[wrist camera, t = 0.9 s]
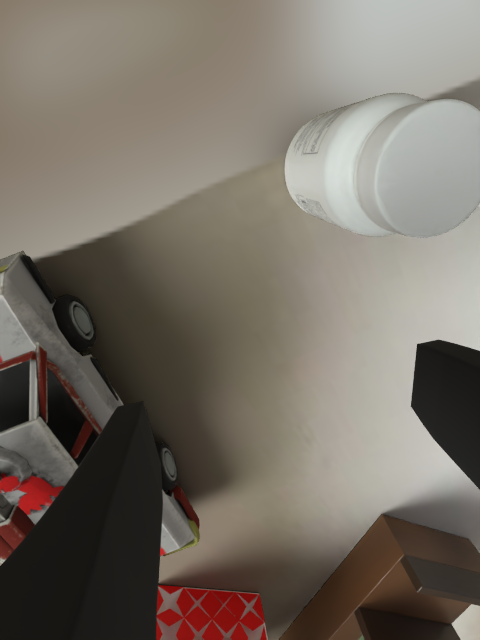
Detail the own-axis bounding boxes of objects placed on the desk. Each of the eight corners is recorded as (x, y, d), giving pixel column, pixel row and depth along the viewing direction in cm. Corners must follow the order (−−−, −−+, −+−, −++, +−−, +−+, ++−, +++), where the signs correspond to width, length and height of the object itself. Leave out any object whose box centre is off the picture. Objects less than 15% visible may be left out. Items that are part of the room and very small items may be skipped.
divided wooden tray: (468, 538, 29) (521, 608, 25) (345, 670, 35) (370, 747, 30) (381, 514, 27) (422, 586, 22) (261, 660, 32) (275, 743, 27)
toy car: (92, 546, 24) (56, 705, 17) (-114, 302, 16) (-332, 407, 9) (204, 502, 24) (214, 644, 17) (49, 237, 16) (-49, 295, 9)
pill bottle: (376, 209, 18) (502, 241, 11) (286, 223, 18) (358, 267, 11) (377, 105, 16) (531, 62, 9) (278, 119, 16) (357, 86, 9)
